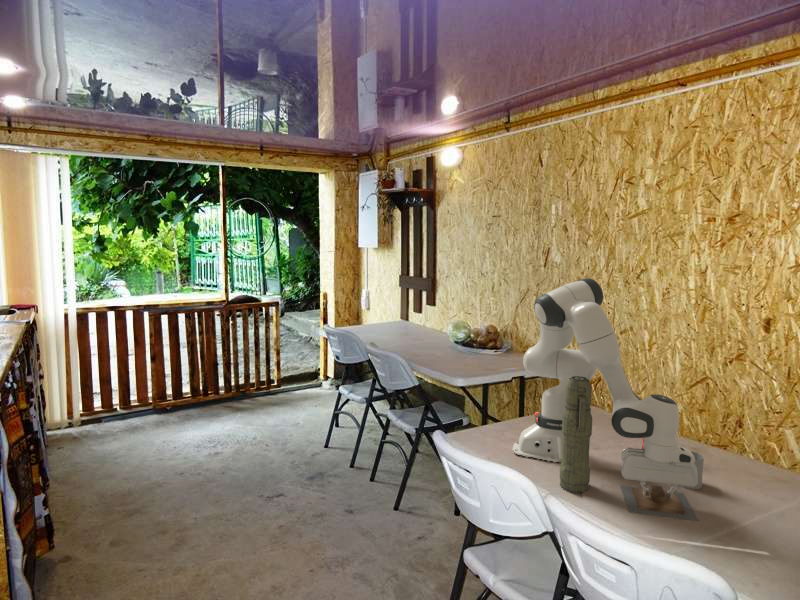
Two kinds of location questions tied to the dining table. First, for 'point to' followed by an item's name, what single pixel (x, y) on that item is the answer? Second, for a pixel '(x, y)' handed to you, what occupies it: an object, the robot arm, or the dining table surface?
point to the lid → (657, 500)
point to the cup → (699, 465)
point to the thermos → (576, 436)
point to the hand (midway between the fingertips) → (657, 496)
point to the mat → (634, 509)
